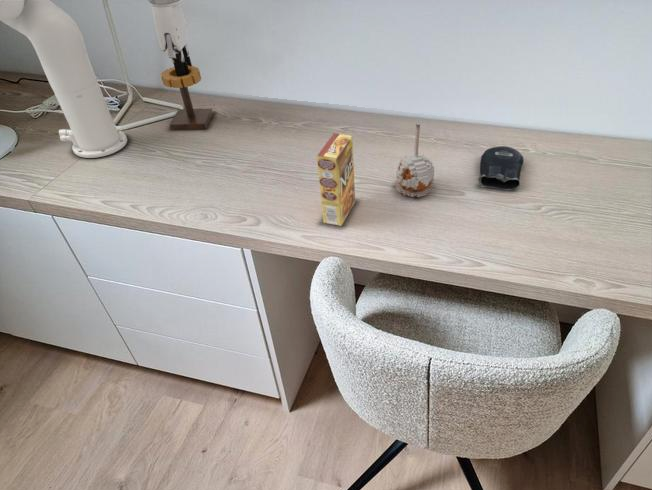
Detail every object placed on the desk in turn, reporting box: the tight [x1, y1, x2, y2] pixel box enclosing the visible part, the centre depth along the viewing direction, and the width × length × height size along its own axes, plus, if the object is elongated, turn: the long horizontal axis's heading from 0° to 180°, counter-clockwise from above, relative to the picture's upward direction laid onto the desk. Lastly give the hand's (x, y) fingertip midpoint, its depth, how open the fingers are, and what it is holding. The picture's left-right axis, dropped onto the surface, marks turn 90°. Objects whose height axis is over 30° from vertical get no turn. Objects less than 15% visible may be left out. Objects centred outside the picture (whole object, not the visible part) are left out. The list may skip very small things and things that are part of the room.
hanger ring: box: [160, 65, 202, 89], centre depth 123 cm, size 9×9×2 cm
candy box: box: [316, 132, 356, 227], centre depth 95 cm, size 9×4×15 cm, turn 162°
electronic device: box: [477, 145, 524, 191], centre depth 110 cm, size 9×6×15 cm
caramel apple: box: [395, 122, 435, 198], centre depth 101 cm, size 8×8×15 cm
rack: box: [169, 86, 214, 131], centre depth 127 cm, size 9×9×12 cm
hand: (185, 74), depth 126 cm, fingers closed on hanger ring, 2 cm apart
